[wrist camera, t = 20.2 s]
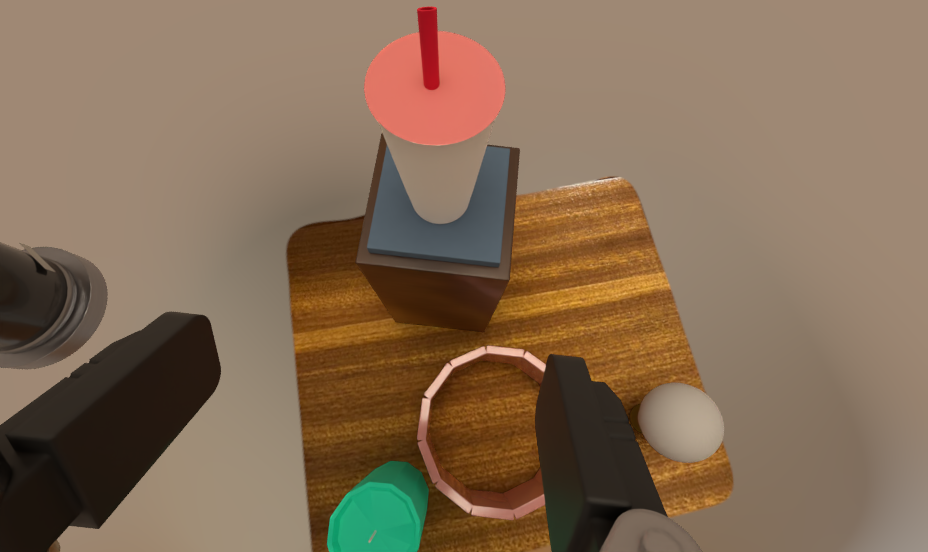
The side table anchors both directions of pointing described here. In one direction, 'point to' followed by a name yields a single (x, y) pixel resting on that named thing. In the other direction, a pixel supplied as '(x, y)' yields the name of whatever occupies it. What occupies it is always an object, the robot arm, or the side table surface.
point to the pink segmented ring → (475, 501)
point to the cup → (436, 113)
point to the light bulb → (679, 422)
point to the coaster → (451, 242)
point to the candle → (381, 512)
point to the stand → (438, 272)
